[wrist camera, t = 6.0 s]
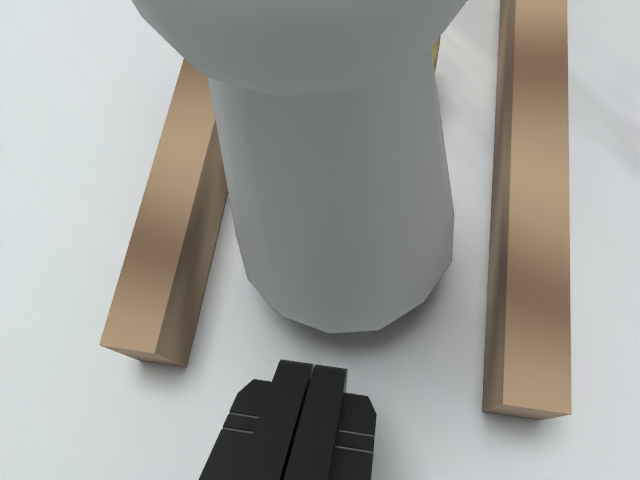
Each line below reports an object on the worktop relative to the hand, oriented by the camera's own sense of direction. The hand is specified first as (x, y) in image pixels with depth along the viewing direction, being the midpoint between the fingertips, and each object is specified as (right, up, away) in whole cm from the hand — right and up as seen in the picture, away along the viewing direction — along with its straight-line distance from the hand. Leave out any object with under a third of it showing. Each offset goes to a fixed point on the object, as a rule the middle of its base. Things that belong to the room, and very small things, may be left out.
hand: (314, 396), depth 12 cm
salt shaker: (+1, +3, +5) cm, 6 cm away
